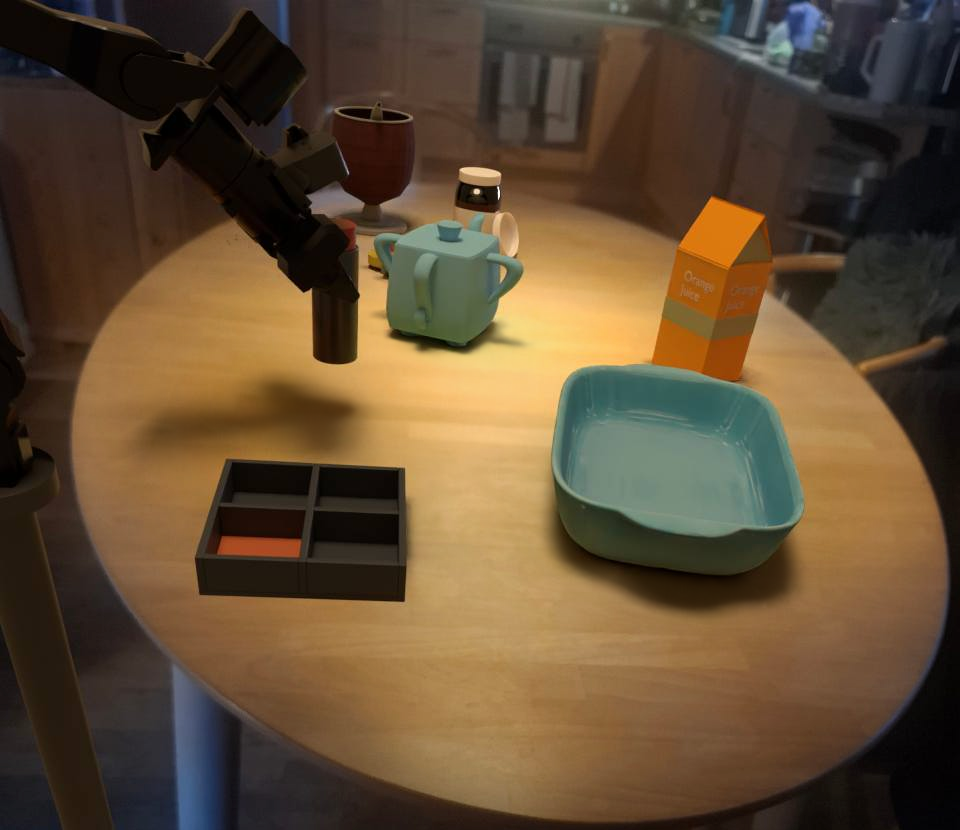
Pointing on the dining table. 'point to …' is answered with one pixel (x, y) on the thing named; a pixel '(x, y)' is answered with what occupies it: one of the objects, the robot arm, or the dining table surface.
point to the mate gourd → (375, 162)
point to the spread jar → (485, 206)
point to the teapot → (445, 279)
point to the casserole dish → (672, 469)
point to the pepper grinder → (337, 311)
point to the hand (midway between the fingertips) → (348, 291)
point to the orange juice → (715, 292)
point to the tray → (305, 532)
